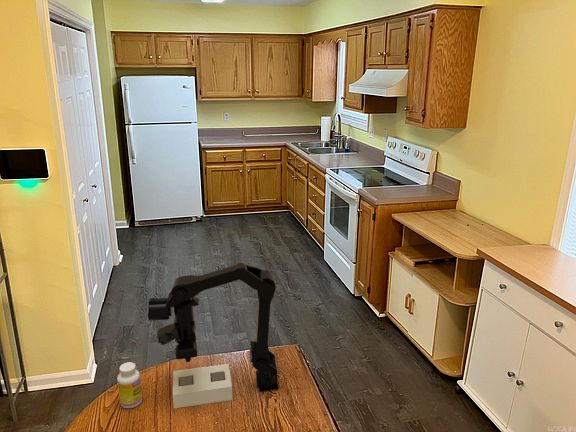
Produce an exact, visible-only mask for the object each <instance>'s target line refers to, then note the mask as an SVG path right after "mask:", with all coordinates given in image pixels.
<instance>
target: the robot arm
mask: <svg viewBox="0 0 576 432" xmlns="http://www.w3.org/2000/svg"><path fill="white" fill-rule="evenodd" d="M237 281H241V282H243V283H244V284H246V285H247V286H249V287H250V288H252V289H253V290H256V292H257V299H258V301H257V314H256V315H257V318H256V333H255V334H256V335H255V340H250V341H249V342H250V349H249V360H250V362H249V363H250V364H251V363H252V368H254V369H255V370H256V371H255V385H256V387H257V388H258V391H259V392H261V393H262V392H267V391H273V390H274V391H275V390H279V388H280V386H279V383H278V367H277V360H276V355H275V354H274V353H272V352H271V350H269V331H270V318H271V317H270V314H271V303H272V301H273V300H274V299H273V298H274V295H275V292H276V287H277V286H276V285H277V284H276V280H275V276H274V274H273V273H272V272H271V271H270V270H268V269H267V270H263V269H261V268H259V267H256V266H252V265H249V264H246V263H243V262H239V263H238V262H237V264H235V265H231V266H228V267H224V268H221V269H217V270H214V271H211V272H208V273H205V274H202V275H192V274H191V275H190V274H189V275H183V276H182V275H181V276H178V277H176V278H175V280H174V281H173V283H172V288H171V290H170V292H169V293H168V296H167V297H159V298H156V297H153V298H152V297H150V298H149V299H148V309H147V310H148V311H147V318H148V321H149V322H152V321H153V322H154V321H155V322H156V321H169V320H170V317H172V316H173V315H174V319H173V321H174V322H173V323H170V324H168V325H166V326H163V327H160V328H159V329H158V330H157V331H156V338H157V339H158V340H157V341H158V343H159V344H160V345H161V346H165V345H166V344H169V343H171V342H172V341H173V340H175V342H176V343H177V344H176V346H175V359H176V360H179V361H180V360H185V362H186V363H190V362H191V361H192V358H196V357H198V345H197V342H196V341H197V336H196V320H195V316H194V315H195V314H194V307H196V306H199V304H200V299H199V298H198V297H196V296H198V295H199V294H200V293H201V292H204V291H206V290H210V289H213V288H217V287H219V286H220V287H221V286H224V285H227V284H230V283H233V282H237Z"/></svg>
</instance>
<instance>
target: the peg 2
mask: <svg viewBox="0 0 576 432" xmlns="http://www.w3.org/2000/svg"><path fill="white" fill-rule="evenodd" d="M211 379H212V382H214V381H221V380H225V379H224V372H217V373H211Z"/></svg>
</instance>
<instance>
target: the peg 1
mask: <svg viewBox="0 0 576 432" xmlns="http://www.w3.org/2000/svg"><path fill="white" fill-rule="evenodd" d="M192 384H193V378H192V376H187V377H180V386H185V385H192Z"/></svg>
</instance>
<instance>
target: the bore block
mask: <svg viewBox="0 0 576 432" xmlns="http://www.w3.org/2000/svg"><path fill="white" fill-rule="evenodd" d="M217 372H224V379H225V380H221V381H214V382H212V379H211V373H217ZM187 376H192V378H193V384H192V385H185V386H180V377H187ZM172 378H173V379H172V402H173V409H179V408H189V407H194V406H200V405H201V406H202V405H207V404H213V403H221V402H229V401H233V400H234V399H233V384H232V383H233V382H232V377H231V371H230V364H229V363H224V364H223V363H222V364H217V365H216V364H215V365H209V366H202V367H195V368H194V367H193V368H185V369H178V370H173V376H172Z"/></svg>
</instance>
